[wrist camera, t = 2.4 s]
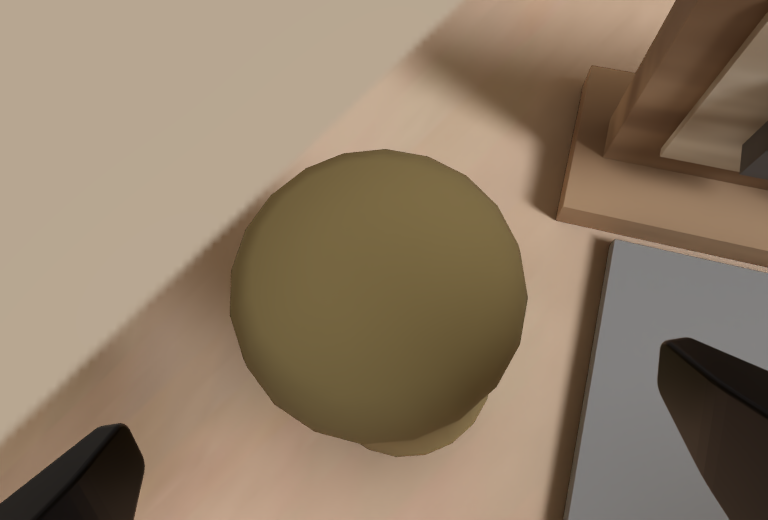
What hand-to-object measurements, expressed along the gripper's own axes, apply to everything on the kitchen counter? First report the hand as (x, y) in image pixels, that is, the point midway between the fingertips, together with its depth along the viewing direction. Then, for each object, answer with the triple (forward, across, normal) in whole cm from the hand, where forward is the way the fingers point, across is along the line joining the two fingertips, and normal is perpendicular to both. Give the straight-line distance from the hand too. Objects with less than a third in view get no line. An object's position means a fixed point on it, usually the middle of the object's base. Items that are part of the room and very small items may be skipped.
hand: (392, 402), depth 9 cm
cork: (+8, 0, +5) cm, 10 cm away
